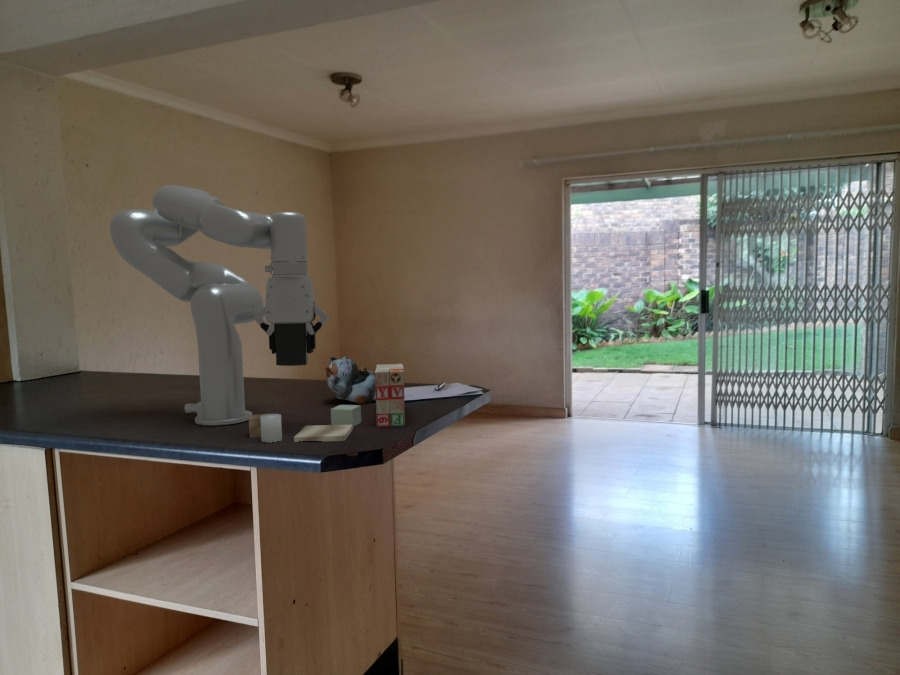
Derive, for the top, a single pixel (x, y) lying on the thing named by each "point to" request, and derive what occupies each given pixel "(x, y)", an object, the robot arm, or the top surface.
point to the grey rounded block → (271, 428)
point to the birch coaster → (324, 433)
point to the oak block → (255, 425)
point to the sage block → (346, 415)
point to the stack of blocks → (389, 395)
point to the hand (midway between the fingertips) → (292, 352)
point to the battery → (291, 344)
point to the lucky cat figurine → (350, 381)
